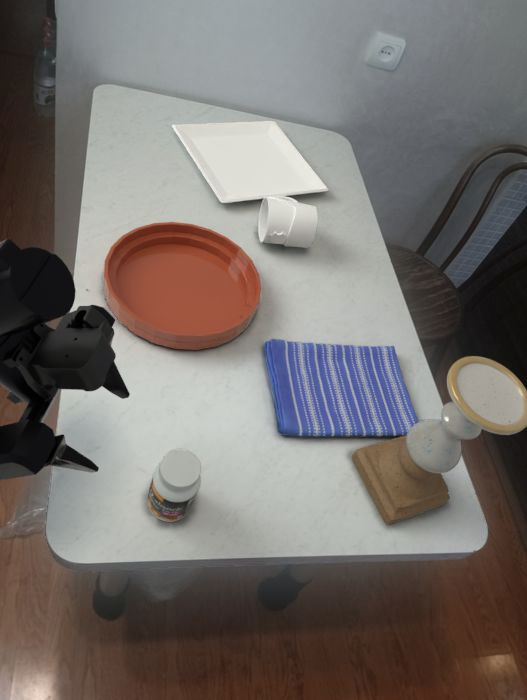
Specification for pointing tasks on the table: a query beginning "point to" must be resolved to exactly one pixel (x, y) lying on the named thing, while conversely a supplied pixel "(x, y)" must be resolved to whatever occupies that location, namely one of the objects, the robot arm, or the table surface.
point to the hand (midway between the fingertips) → (111, 431)
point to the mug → (287, 222)
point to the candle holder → (441, 439)
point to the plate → (248, 160)
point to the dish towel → (338, 390)
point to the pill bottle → (174, 485)
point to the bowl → (181, 285)
